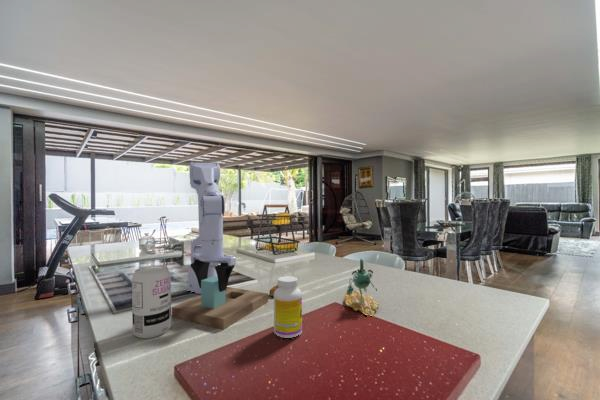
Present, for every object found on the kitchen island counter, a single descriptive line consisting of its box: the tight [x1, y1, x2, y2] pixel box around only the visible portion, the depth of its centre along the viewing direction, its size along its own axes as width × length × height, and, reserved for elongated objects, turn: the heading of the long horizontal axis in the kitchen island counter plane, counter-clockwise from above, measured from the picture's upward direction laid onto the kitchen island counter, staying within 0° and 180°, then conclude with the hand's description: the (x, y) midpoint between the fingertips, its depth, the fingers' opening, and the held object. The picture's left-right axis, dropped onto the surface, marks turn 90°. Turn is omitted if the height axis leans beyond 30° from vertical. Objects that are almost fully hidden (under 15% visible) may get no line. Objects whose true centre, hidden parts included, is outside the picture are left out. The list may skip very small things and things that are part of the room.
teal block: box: [200, 276, 226, 309], centre depth 79 cm, size 4×4×7 cm
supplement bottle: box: [273, 275, 303, 339], centre depth 67 cm, size 7×7×13 cm
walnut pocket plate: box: [171, 286, 269, 330], centre depth 82 cm, size 18×20×2 cm
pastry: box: [268, 283, 279, 297], centre depth 94 cm, size 9×7×4 cm
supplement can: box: [131, 265, 172, 339], centre depth 68 cm, size 8×8×15 cm
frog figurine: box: [343, 258, 380, 317], centre depth 84 cm, size 10×18×15 cm, turn 2°
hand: (212, 288), depth 78 cm, fingers open, 6 cm apart
